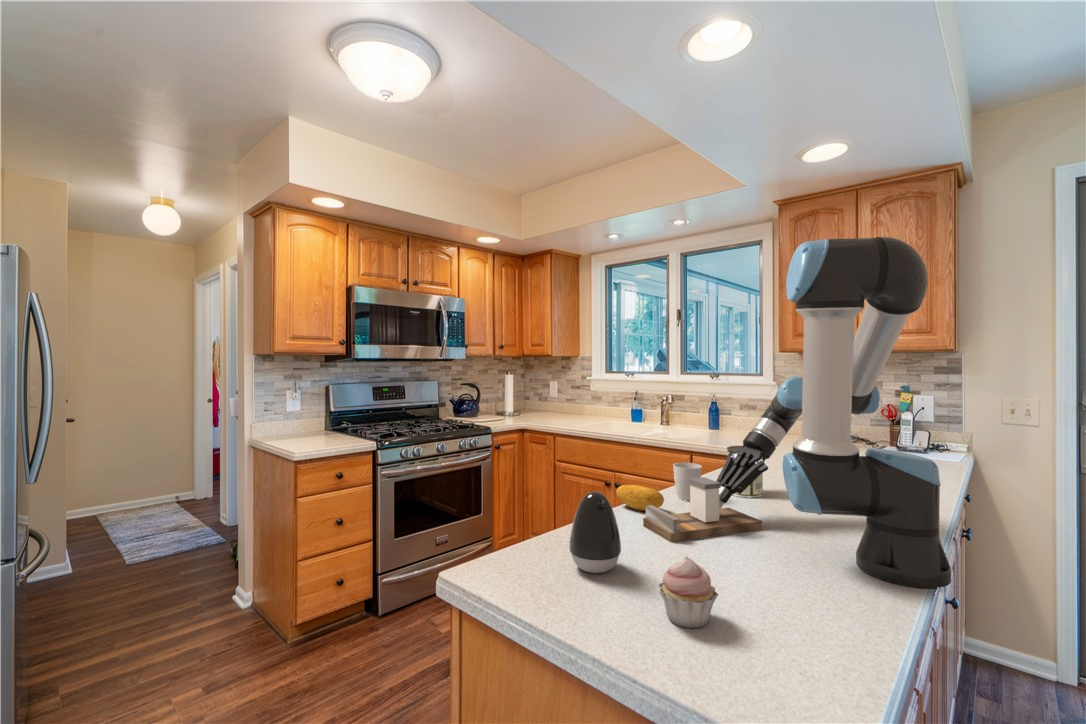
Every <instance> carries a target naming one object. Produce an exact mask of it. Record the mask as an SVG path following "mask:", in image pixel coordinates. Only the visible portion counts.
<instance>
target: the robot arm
mask: <svg viewBox="0 0 1086 724" xmlns="http://www.w3.org/2000/svg"><path fill="white" fill-rule="evenodd" d="M928 276H929V275H928V270H927V266H926V264H925V262H924V260H923V258H922V256H921V255H920V253H919V252H918V251H917V250H916V249H915V248H914V247H913V246H912V245H910V244H909V243H907V242H905V241H903V240H902V239H898V238H895V237H891V236H890V237H889V236H877V237H857V238H856V237H855V238H826V239H820V240H819V239H818V240H809V241H805V242H803V243H801V244H800V245H798V246H797V248H796V249H795V251H794V252H793V255H792V258H791V260H790V263H789V267H788V271H787V276H786V281H785V282H786V283H785V284H786V285H785V290H786V298H787V300H788V301H789V302H791V303H795V312H796V313H798V314H799V315H800V316H801V317H802V318H803V349H802V350H803V353H802V354H803V355H802V376H792V377H789V378H787V379H785V381H783V383H782V384H780V386H779V387H778V389H777V392H776V393H775V396H774V397H773V399H772V401H771V402H770V404H769V405H768V407H767V408H766V409H765V411H764V413H762V415H761V416H760V417H759V419H757V421H756V423H755V424H754V425H753V426H752V428H751V431H749V432H748V433H747V435H746V437H745V438H744V439H743V440H742V446H743V447H742V448H741V449H740V450H739V451H738V453H736V454H732V453H729V454H728V453H727V459H726V461H725V463H724V465H723V466H722V469H721V471H720V473H719V474H718V476H717V478H716V480H715V481H716V482H719V483H721V488H719V510H720V509H721V508H723V506H724V505H725V504H726V503H727V502H728V501H729V500H730V498H731V497H732V496H733V495H732V494H735V493H738V494H741V493H742V492H743V491H744V490H745V489H746V488H747V487H748V486H749V485H750V484H751V483H752V482H753V481H754V480H755V479H756V478H757V477H758V476H759V475H760V474H761V473H764V472H766V471H768V470H769V467H768V466H767V464H766V463H765V461H766V460H769V459H770V458H771V457H772V455H773V454H774V452H775V451H776V448H777V447H778V446H779V445H780V444H781V442H782V441H783V440H784V438H785V437H786V435H787V434H788V432H789V431H790V429H792V427H793V426H794V424H796V422H797V420H798V419H799V418H800V416H801V434H800V435H801V436H800V437H798V438H797V440H795V441H794V442H793V443H792V444H793V445H792V452H788V453H785V454H784V455H783V458H782V473H783V479H784V484H785V489H786V493H787V496H788V499H789V500H790V501H789V502H790V503H791V505H792V506H793V507H794V509H796V510H797V511H799V512H802V513H808V514H815V515H816V514H817V515H818V516H821V515H832V516H833V515H834V516H835V515H837V516H851V517H865V518H866V521H865V522H866V523H865V525H866V526H865V529H864V531H863V534H862V537H861V539H860V541H859V544H858V547H857V549H856V552H855V563H856V566H857V567H858V568H859V569H860V570H862V571H863V572H865V573H866V574H868V575H870V576H872V577H875V578H878V579H880V580H883V581H887V582H891V583H894V584H898V585H902V586H903V585H904V586H907V587H914V588H925V589H938V588H943V587H946V586H947V587H948V586H949V585H950V584H951V583H952V568H951V565H950V563H949V560H948V558H947V554H946V552H945V549H944V546H943V544H942V541H941V537H940V504H941V503H940V501H941V500H940V493H941V492H940V491H941V488H940V487H941V485H942V484H941V482H940V480H941V479H940V471H939V466H938V464H937V463H935V461H934V460H932V459H929V458H927V457H924V456H921V455H916V454H913V453H907V452H902V451H897V450H892V449H885V448H878V447H877V448H876V447H875V448H874V447H870V448H867V449H866V451H865V452H864V455H860V448H859V447H858V446H856V444H855V443H853V442H852V440H851V438H852V437H851V435H852V415H855V416H856V415H858V416H859V415H864V414H866V415H867V414H874V413H876V412H877V411H878V409H879V406H880V402H881V396H880V391H879V388H878V386H877V385H876V384H877V382H878V379H879V378H880V375H881V374H882V371H883V370H884V367H885V365H886V364H887V362H888V359H889V358H890V354H891V353H892V351H893V349H894V347H895V345H896V343H897V341H898V339H899V337H900V335H901V332H902V330H903V328H904V326H905V324H906V322H907V320H908V318H909V316H910V315H911V314H915V313H916V312H917V311H918V310H919V309H920V308H921V306H922V304H923V301H924V300H925V297H926V294H927V290H928V284H929V277H928ZM865 302H866V307H865ZM864 308H865V309H864ZM862 311H864V312H863V314H862V316H861V318H860V319H861V320H860V322H859V325H858V327H857V329H856V332H855V318H856V317H857V316H858V315H859V314H860V313H861V312H862ZM739 487H740V488H739Z"/></svg>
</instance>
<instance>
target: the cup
mask: <svg viewBox="0 0 1086 724" xmlns="http://www.w3.org/2000/svg"><path fill="white" fill-rule="evenodd" d="M672 466H673V467H672V468H673V479H674V485H675V492H676V495H677V497H678V500H680V499H681V500H680V501H683V500H688V501H687V502H690V484H689V479H691V478H702V469H703V467H702V465H701V464H698V463H694V462H676V463H673V464H672Z"/></svg>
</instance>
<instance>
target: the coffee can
mask: <svg viewBox="0 0 1086 724" xmlns="http://www.w3.org/2000/svg"><path fill="white" fill-rule="evenodd" d="M742 447H743V445H731V446H727V447H726V451H727V455H728V454H729V453H732V454H736V453H738V451H739V450H740V449H741V448H742ZM763 473H764V472H763ZM763 473H761V474H760V475H759V476H758V477H757V478H756V479H755V480H754V481H753V482H752V483H751V484H750V485H749V486H748V487H747V488H746V489H745V490H744V491H743V492H742V493H741V494H738V493H735V494H732V496H733V495H734V496H733V497H736V496H738V497H737V498H742V497H746V498H745V499H758V498H757V497H759V498H761V497H762V498H763V496H764V493H763V491H764V490H763V487H764V485H763V481H764V480H763V479H764V477H763V476H764V475H763ZM739 488H740V487H739Z"/></svg>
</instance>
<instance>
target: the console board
mask: <svg viewBox="0 0 1086 724" xmlns="http://www.w3.org/2000/svg"><path fill="white" fill-rule="evenodd" d="M642 520H643V521H642V522H643V527H644V528H646V529H648V530H649V531H651V532H653V533H654V534H656V535H658V536H660V537H661V538H662V539H664V540H666V541H668V542H669V543H675V542H683V541H688V540H690V541H691V540H696V539H702V538H703V539H704V538H711V537H717V536H723V535H731V534H738V533H746V532H752V530H753V531H758V529H760V530H763V521H762V520H761V519H759V518H755V517H753V516H750V515H749V514H746V513H744V512H741V511H738V510H736V509H734V508H731V507H722V508H721V509H720V510H719V521H713V522H706V523H705V522H703V521H701V520H699V519H697V518H695V517H693V516H691V515H690V511H689V512H680V513H673V514H670V513H668V512H666V511H664V510H662V509H660V508H656V507H654V506H652V505H647V506H646V511H645V517H643V518H642Z"/></svg>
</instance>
